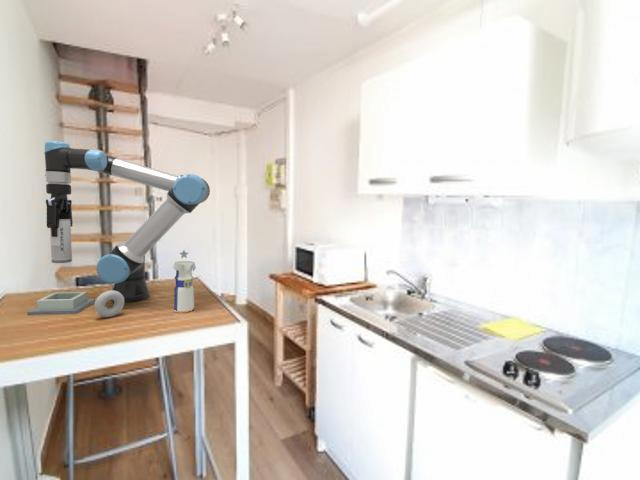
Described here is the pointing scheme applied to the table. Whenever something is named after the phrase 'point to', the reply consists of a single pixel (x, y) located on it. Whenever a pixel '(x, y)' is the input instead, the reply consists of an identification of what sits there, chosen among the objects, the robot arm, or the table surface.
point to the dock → (62, 303)
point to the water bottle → (184, 284)
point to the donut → (104, 298)
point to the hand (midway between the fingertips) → (61, 244)
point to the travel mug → (63, 241)
